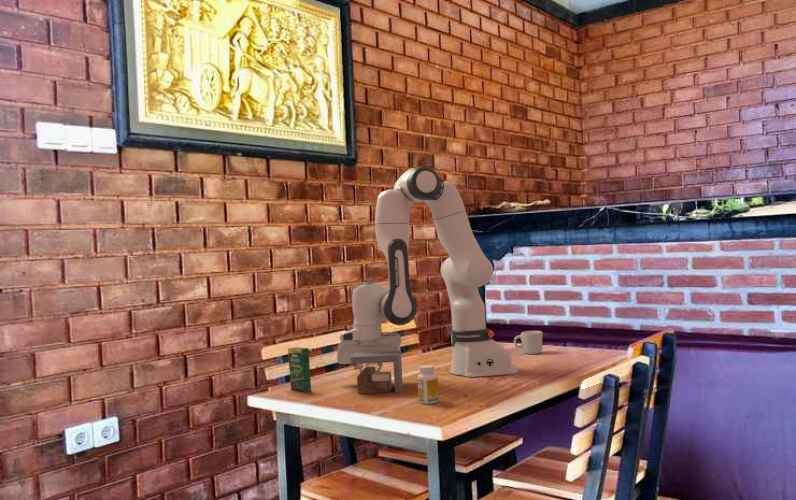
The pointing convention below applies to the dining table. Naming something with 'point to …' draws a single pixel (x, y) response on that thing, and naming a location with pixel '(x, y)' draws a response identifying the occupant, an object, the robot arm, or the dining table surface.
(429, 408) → the dining table surface
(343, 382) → the dining table surface
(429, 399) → the supplement bottle
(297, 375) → the coffee box
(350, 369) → the dining table surface
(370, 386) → the wooden stepped block
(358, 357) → the low shelf
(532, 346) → the cup
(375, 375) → the cream block
